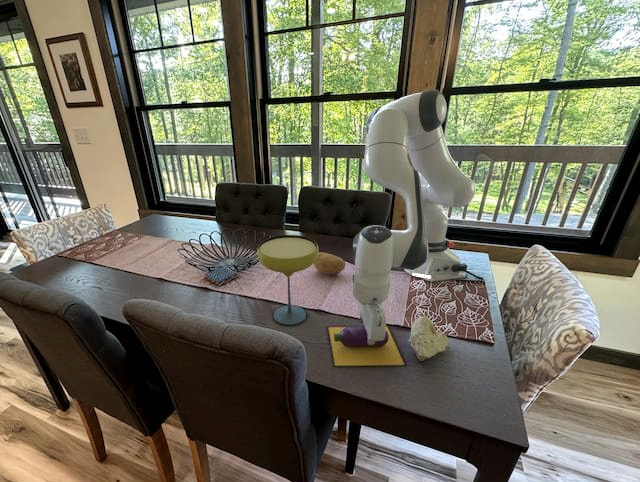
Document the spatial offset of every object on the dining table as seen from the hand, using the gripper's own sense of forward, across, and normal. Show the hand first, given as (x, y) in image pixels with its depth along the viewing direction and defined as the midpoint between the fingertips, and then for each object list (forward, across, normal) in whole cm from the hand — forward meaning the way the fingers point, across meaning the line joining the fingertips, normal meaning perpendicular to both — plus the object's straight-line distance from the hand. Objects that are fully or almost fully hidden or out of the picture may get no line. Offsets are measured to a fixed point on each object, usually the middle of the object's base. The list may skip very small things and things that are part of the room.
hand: (366, 331), depth 87 cm
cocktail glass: (+5, +15, +22) cm, 27 cm away
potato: (+5, +44, +5) cm, 45 cm away
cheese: (+5, -5, -15) cm, 17 cm away
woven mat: (+5, +42, +49) cm, 65 cm away
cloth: (+5, 0, +1) cm, 5 cm away
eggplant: (+5, 0, +1) cm, 5 cm away
